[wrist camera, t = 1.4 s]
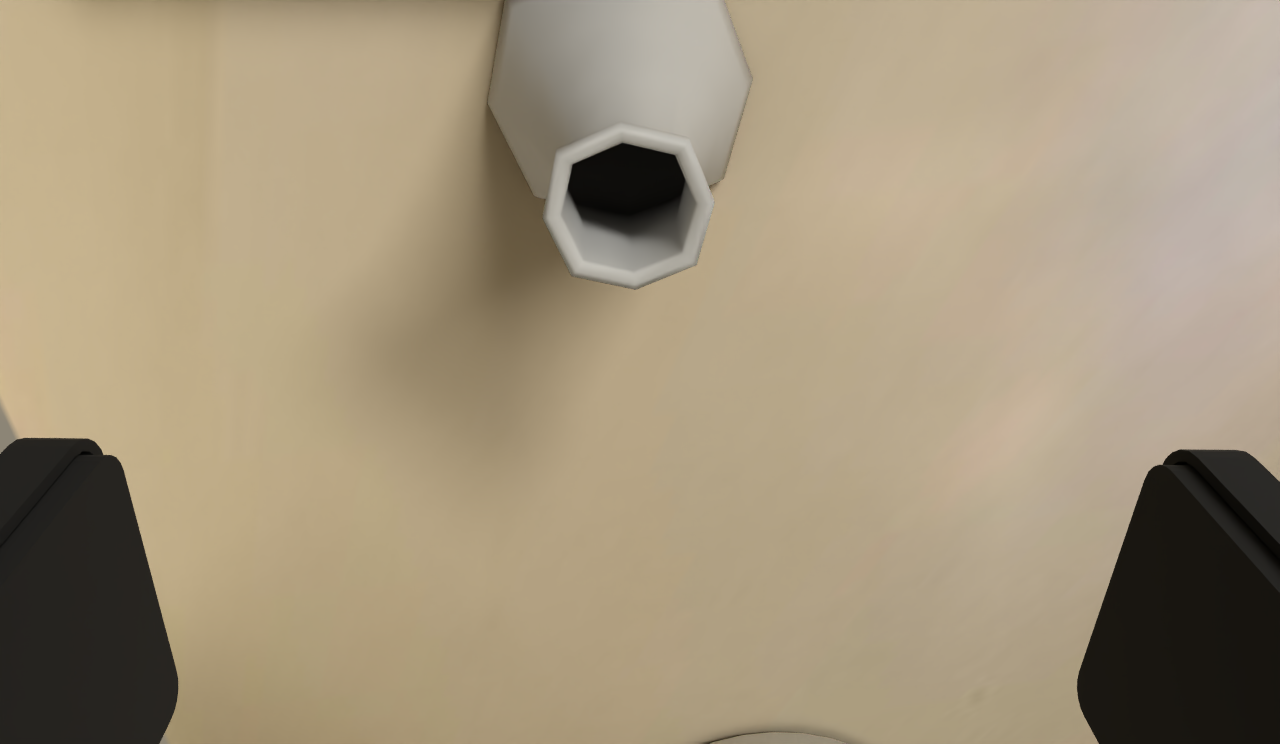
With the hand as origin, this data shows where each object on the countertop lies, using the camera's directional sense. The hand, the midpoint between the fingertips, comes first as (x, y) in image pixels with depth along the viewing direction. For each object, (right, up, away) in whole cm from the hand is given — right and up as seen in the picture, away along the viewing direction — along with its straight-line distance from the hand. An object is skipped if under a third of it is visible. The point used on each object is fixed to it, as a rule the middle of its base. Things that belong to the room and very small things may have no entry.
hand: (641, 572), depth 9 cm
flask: (-1, +10, +18) cm, 20 cm away
